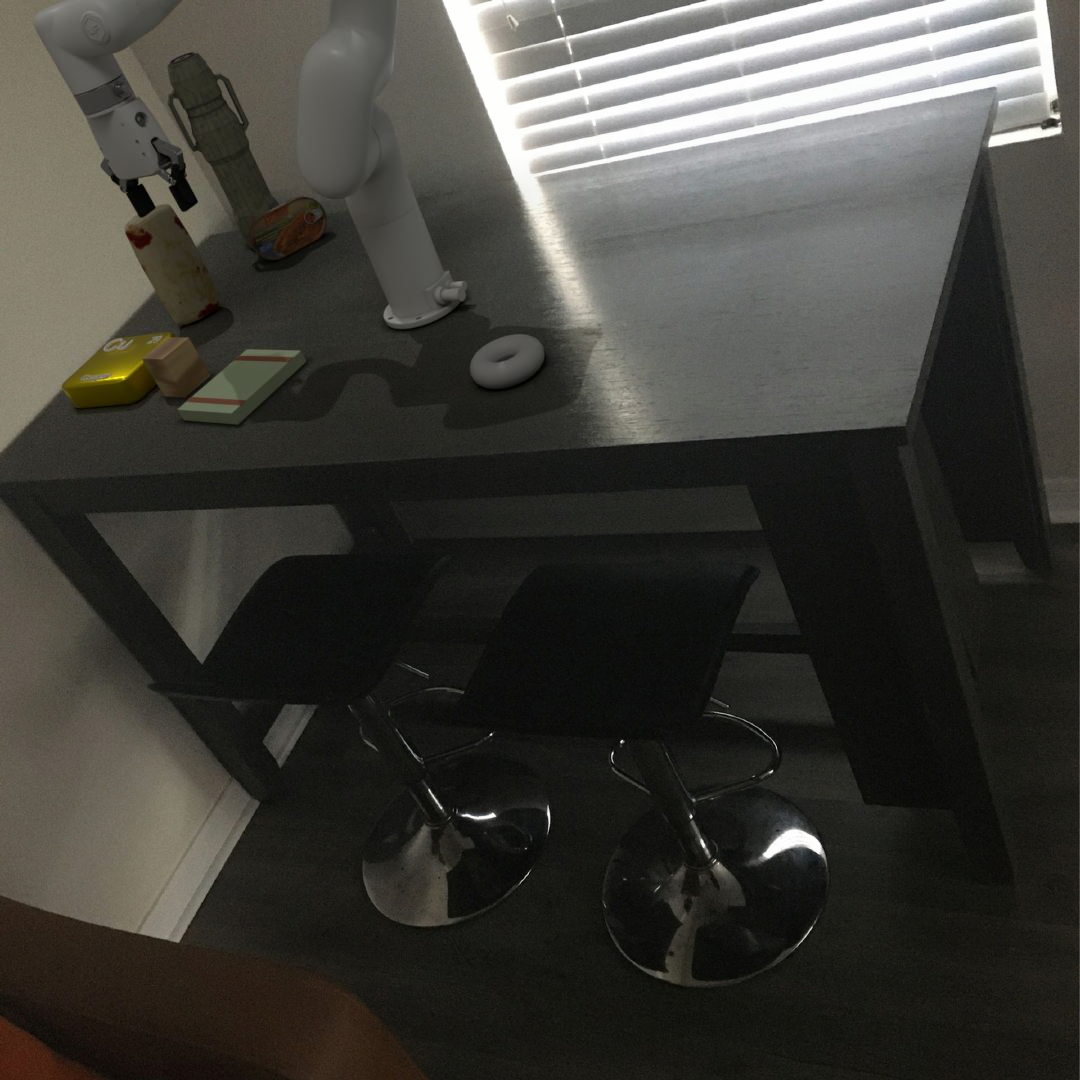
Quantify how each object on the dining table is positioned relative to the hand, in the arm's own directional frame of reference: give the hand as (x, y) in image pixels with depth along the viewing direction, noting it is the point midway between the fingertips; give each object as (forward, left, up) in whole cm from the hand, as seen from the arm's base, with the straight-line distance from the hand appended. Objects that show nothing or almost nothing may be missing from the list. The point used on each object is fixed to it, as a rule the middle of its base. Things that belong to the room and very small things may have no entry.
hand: (169, 210), depth 160 cm
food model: (+19, -9, -24) cm, 32 cm away
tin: (+16, -33, -24) cm, 44 cm away
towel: (-12, +12, -24) cm, 29 cm away
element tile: (+17, +11, -24) cm, 31 cm away
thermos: (+28, -38, -24) cm, 53 cm away
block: (+1, +12, -24) cm, 26 cm away
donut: (-57, +5, -24) cm, 62 cm away
